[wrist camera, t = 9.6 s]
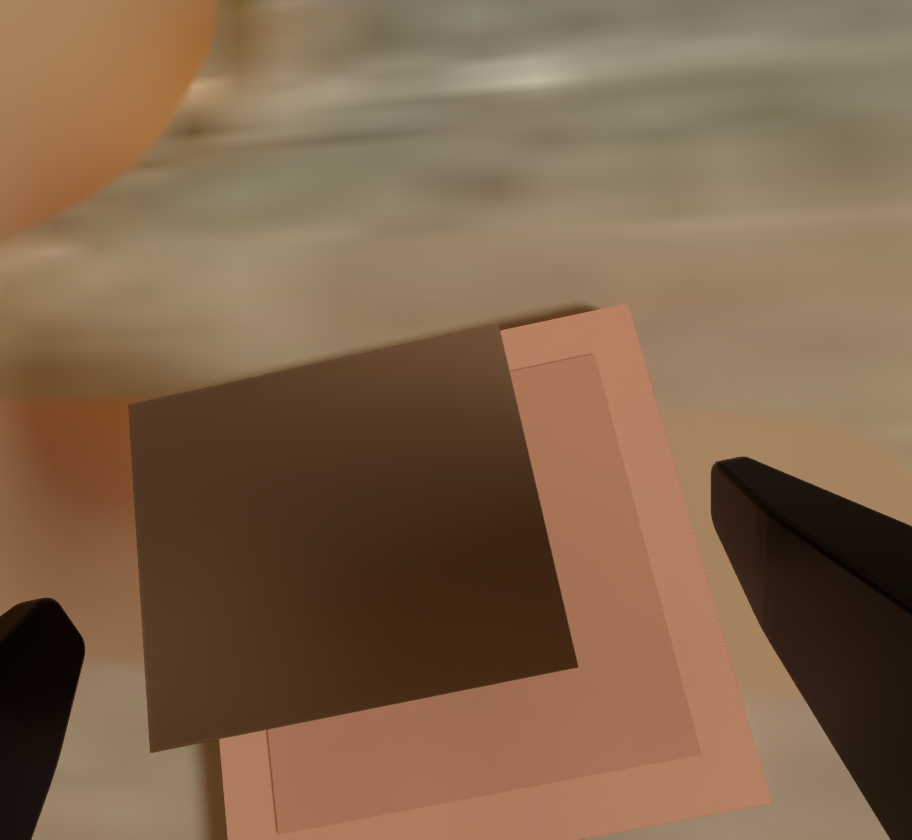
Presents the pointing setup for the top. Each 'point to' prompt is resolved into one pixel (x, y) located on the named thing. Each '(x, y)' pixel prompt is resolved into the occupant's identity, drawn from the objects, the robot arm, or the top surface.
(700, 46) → the top surface
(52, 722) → the robot arm
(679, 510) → the trivet
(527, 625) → the walnut block
